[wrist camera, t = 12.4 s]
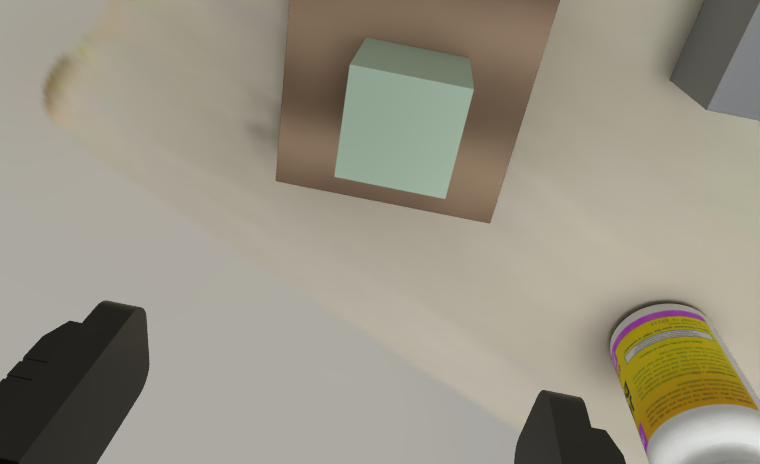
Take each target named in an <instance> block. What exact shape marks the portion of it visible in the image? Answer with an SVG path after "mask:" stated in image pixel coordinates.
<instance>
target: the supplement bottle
mask: <svg viewBox="0 0 760 464" xmlns="http://www.w3.org/2000/svg"><path fill="white" fill-rule="evenodd" d="M610 353H611V357H612V360H613V363H614V367H615V369H616V372H617V375H618V378H619V380H620V383H621V386H622V389H623V391H624V394H625V397H626V399H627V402H628V405H629V408H630V411H631V413H632V416H633V419H634V421H635V424H636V427H637V430H638V432H639V435H640V438H641V441H642V443H643V446H644V449H645V452H646V455H647V458H648V460H649V463H650V464H760V400H759V398H758V396H757V395H756V393H755V392H754V390H753V388H752V387H751V385H750V383H749V382H748V380H747V379H746V377H745V375H744V374H743V372H742V371H741V369H740V367H739V366H738V364H737V363H736V361H735V359H734V358H733V356H732V355H731V353H730V351H729V350H728V348H727V347H726V345H725V343H724V342H723V340H722V338H721V337H720V335H719V333H718V332H717V330H716V329H715V327H714V326H713V324H712V323H711V321H710V320H709V319H708V318H707V317H706V316H705V315H704V314H702V313H701V312H699V311H698V310H696V309H694V308H691V307H688V306H685V305H680V304H658V305H653V306H649V307H646V308H643V309H640V310H638V311H636V312H634V313H633V314H631V315H630V316H628V317H627V318H626V319H624V320H623V321H622V322H621V323H620V324H619V326H618V327H617V328H616V330H615V331H614V333H613V335H612V338H611V343H610Z"/></svg>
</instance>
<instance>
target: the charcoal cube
mask: <svg viewBox="0 0 760 464" xmlns="http://www.w3.org/2000/svg"><path fill="white" fill-rule="evenodd" d="M670 81H671V82H673V83H674V84H675V85H676V86H678V87H679V88H680V89H681V90H683V91H684V92H685V93H686V94H687V95H689V96H690V97H691V98H692V99H694V100H695V101H696V102H697V103H699V104H700V105H701V106H702V107H703V108H705V109H706V110H709V111H714V112H719V113H724V114H729V115H734V116H739V117H744V118H749V119H754V120H759V121H760V0H705V1H704V3H703V6H702V8H701V10H700V12H699V15H698V17H697V19H696V21H695V24H694V26H693V28H692V30H691V33H690V35H689V37H688V40H687V42H686V44H685V46H684V49H683V51H682V53H681V55H680V58H679V60H678V62H677V64H676V67H675V69H674V71H673V74H672V76H671V78H670Z"/></svg>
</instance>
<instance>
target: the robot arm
mask: <svg viewBox="0 0 760 464" xmlns="http://www.w3.org/2000/svg"><path fill="white" fill-rule="evenodd" d="M148 371H149V349H148V334H147V319H146V312H145V310H144V309H143V308H141V307H136V306H131V305H126V304H121V303H115V302H111V301H103V302H101V303H99V304H98V305H97V306H96V307H95V309H94V310H93V311H92V312H91V313H90V315H88V317H87V318H86V319H85V320H84V321H83V323H78V322H73V321H68V322H67V323H65V324H63V325H61V326H60V327H58V328H56V329H55V330H53V331H51V332H50V333H48V334H46V335H44V336H43V337H42V338H41V339H40V340H39V341H38V342H37V343H36V344H35V345H34V346H33V347H32V348H31V350H30V351H29V352H28V353H27V354H26V355H25V356H24V358H23V361H22V362H21V361H19V363H17V365H16V366H15V367H14V368H13V369H12V370H11V371H10V372H9V373H8V374H7V378H6V379H3V380H2V381H1V382H0V464H97V462H98V460H99V459H100V457H101V456H102V454H103V452H104V451H105V449H106V448H107V446H108V444H109V443H110V441H111V440H112V438H113V436H114V435H115V433H116V432H117V430H118V428H119V427H120V425H121V424H122V422H123V420H124V419H125V417H126V416H127V414H128V413H129V411H130V409H131V408H132V406H133V405H134V403H135V401H136V400H137V398H138V397H139V395H140V393H141V391H142V389H143V387H144V385H145V382H146V379H147V376H148ZM514 464H626V462H625V459H624V456H623V454H622V453H621V451H620V450H619V448H618V447H617V446H616V444H615V443H614V441H613V440H612V439H611V437H610V436H609V434H608V433H607V432H606V430H602V429H597V428H592V427H591V424H590V420H589V417H588V413H587V409H586V406H585V403H584V401H583V399H582V398H580V397H576V396H571V395H566V394H561V393H556V392H551V391H546V390H542V391H541V392H540V393H539V395H538V396H537V399H536V401H535V403H534V405H533V407H532V410H531V412H530V414H529V416H528V419H527V421H526V423H525V425H524V427H523V430H522V432H521V434H520V436H519V439H518V442H517V446H516V451H515V460H514Z"/></svg>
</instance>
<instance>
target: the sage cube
mask: <svg viewBox="0 0 760 464" xmlns="http://www.w3.org/2000/svg"><path fill="white" fill-rule="evenodd" d="M473 91H474V85H473V77H472V69H471V61H470V58H467V57H462V56H457V55H452V54H447V53H442V52H437V51H432V50H427V49H422V48H417V47H412V46H407V45H402V44H397V43H392V42H387V41H382V40H377V39H372V38H367V37H366V38H365V40H364V42H363V43H362V45H361V47H360V48H359V50H358V52H357V53H356V55H355V57H354V58H353V60H352V62H351V63H350V67H349V74H348V82H347V89H346V96H345V103H344V110H343V118H342V125H341V132H340V139H339V146H338V154H337V161H336V168H335V175H334V177H338V178H343V179H348V180H353V181H358V182H363V183H368V184H373V185H378V186H383V187H388V188H393V189H398V190H403V191H408V192H413V193H418V194H423V195H428V196H433V197H438V198H443V199H445V198H446V195H447V191H448V187H449V183H450V179H451V175H452V172H453V168H454V164H455V160H456V156H457V152H458V149H459V145H460V141H461V137H462V133H463V129H464V126H465V122H466V118H467V114H468V110H469V106H470V103H471V99H472V95H473Z"/></svg>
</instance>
